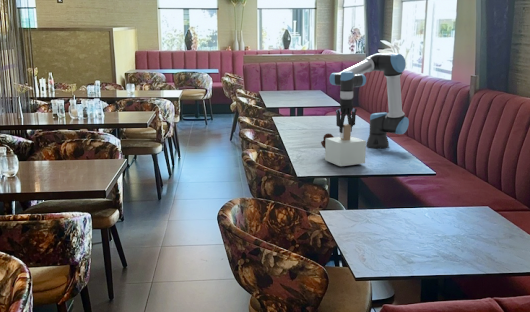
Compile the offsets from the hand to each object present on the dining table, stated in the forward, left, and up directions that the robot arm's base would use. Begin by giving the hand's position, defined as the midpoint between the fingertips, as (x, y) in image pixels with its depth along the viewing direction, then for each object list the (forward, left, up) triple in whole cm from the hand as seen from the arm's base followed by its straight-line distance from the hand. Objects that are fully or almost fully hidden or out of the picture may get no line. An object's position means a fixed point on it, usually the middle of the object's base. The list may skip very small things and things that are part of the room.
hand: (345, 137), depth 323 cm
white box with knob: (0, 0, -15) cm, 15 cm away
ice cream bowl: (-2, -21, -16) cm, 27 cm away
